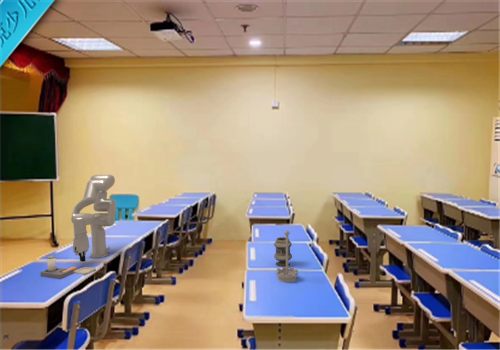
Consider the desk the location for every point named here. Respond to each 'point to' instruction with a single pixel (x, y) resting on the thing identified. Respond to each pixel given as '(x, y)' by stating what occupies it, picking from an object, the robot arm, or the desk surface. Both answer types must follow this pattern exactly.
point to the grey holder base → (57, 273)
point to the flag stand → (286, 273)
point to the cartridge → (51, 263)
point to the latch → (70, 269)
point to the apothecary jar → (282, 251)
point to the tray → (85, 270)
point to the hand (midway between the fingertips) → (82, 261)
